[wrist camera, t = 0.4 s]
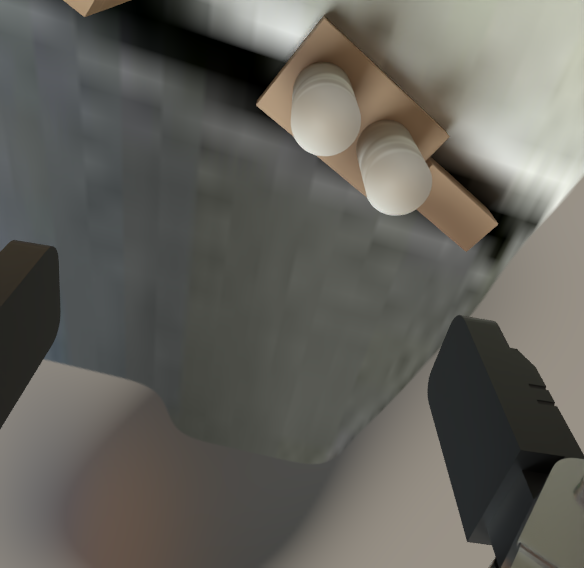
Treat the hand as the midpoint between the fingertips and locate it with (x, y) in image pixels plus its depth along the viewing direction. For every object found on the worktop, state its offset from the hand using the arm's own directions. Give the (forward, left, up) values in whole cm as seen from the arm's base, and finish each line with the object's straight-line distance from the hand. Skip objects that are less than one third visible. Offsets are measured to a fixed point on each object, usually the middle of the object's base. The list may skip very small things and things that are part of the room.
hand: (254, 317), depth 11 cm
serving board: (-1, +8, -25) cm, 26 cm away
